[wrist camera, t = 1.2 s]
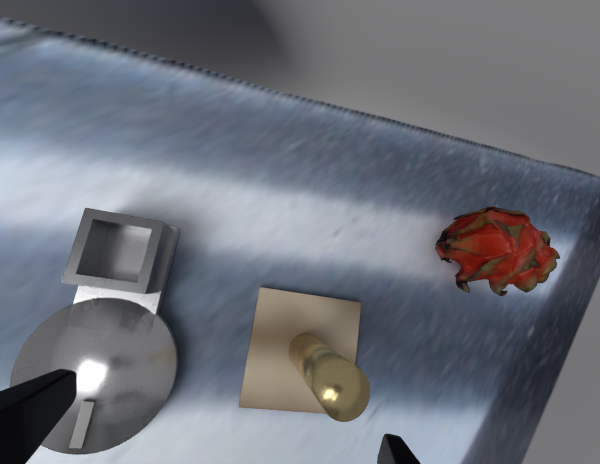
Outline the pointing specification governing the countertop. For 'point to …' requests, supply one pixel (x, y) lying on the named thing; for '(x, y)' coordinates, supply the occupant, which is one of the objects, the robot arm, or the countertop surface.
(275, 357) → the tan square plate
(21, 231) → the countertop surface
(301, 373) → the brass cylinder
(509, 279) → the dragon fruit
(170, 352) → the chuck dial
